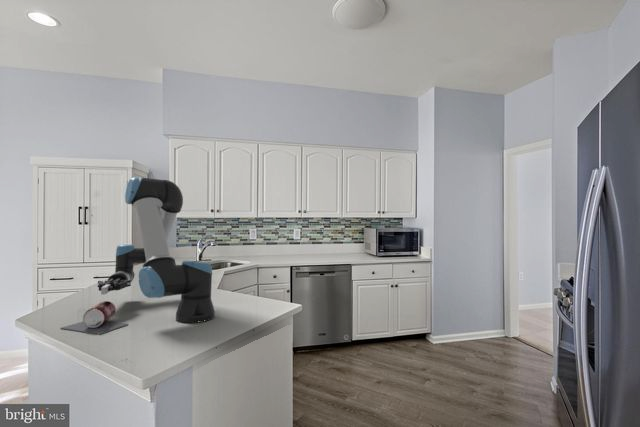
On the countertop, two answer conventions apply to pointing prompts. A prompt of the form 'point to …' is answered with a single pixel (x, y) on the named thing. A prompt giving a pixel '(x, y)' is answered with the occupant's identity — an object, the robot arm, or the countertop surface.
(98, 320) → the soda can
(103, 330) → the mat
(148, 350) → the countertop surface
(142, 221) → the robot arm
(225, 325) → the countertop surface
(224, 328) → the countertop surface
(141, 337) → the countertop surface
